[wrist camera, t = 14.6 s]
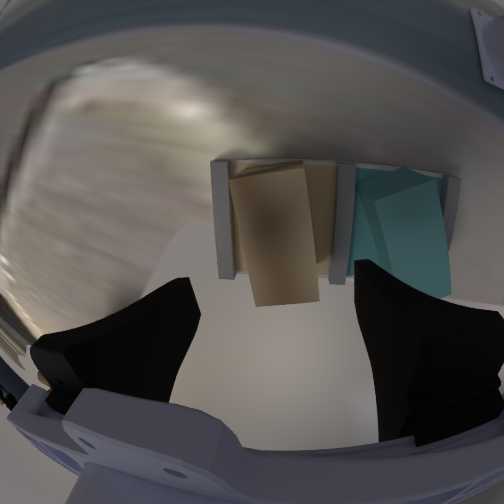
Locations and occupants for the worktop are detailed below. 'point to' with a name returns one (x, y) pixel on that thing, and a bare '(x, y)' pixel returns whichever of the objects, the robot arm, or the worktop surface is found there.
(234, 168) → the grey flat rectangular tray
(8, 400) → the toy
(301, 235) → the maple bar
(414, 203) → the teal bar
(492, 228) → the worktop surface
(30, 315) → the worktop surface
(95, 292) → the worktop surface
